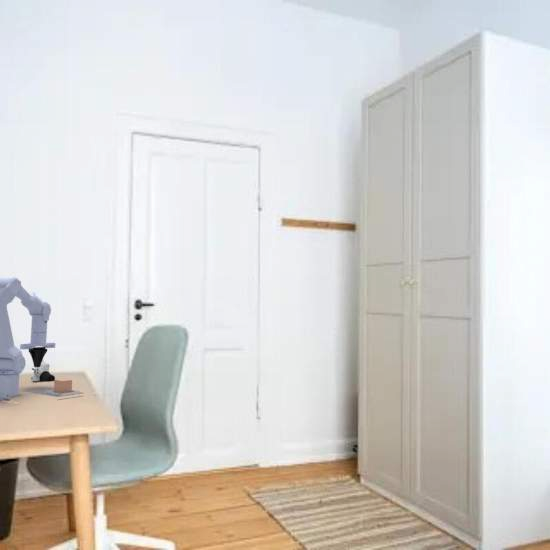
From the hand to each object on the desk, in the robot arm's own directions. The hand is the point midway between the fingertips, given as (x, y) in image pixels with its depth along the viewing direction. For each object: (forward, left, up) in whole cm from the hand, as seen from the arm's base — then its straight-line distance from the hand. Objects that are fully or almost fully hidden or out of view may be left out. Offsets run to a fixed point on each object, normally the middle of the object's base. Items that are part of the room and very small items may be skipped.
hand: (37, 367), depth 222 cm
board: (-6, -11, -9) cm, 16 cm away
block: (-8, -16, -8) cm, 19 cm away
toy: (+23, +12, -10) cm, 28 cm away
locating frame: (-8, -16, -8) cm, 20 cm away
